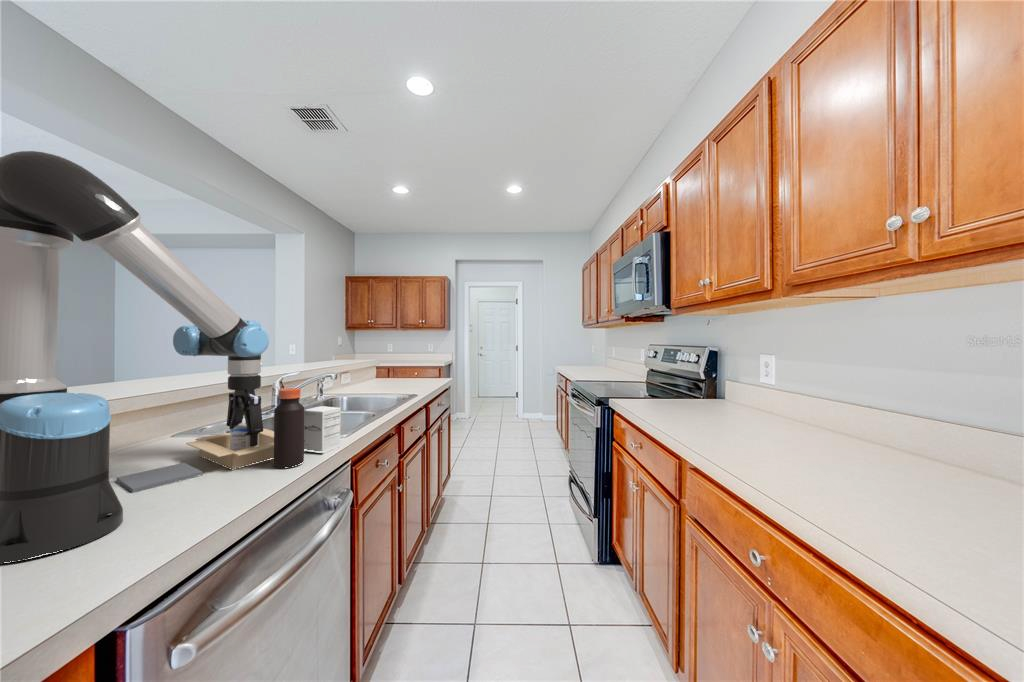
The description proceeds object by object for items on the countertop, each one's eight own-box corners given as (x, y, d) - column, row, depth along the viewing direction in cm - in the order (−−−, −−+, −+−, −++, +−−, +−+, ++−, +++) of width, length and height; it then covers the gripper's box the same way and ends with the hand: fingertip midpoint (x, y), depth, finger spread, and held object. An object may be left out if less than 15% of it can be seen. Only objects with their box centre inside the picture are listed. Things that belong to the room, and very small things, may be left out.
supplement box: (301, 452, 105) (302, 409, 105) (321, 445, 113) (322, 405, 113) (321, 455, 103) (322, 411, 103) (341, 447, 110) (341, 406, 110)
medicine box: (238, 453, 104) (238, 423, 104) (256, 451, 106) (256, 421, 106) (230, 461, 97) (230, 429, 97) (250, 459, 99) (250, 427, 99)
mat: (202, 475, 87) (202, 471, 87) (132, 492, 77) (132, 488, 77) (183, 465, 94) (183, 462, 94) (116, 480, 83) (116, 477, 83)
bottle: (309, 461, 98) (310, 388, 98) (291, 470, 91) (292, 391, 91) (286, 460, 99) (287, 387, 99) (267, 468, 92) (267, 390, 92)
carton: (304, 454, 103) (304, 439, 103) (223, 476, 87) (223, 457, 87) (259, 440, 117) (259, 427, 117) (181, 457, 100) (181, 441, 100)
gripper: (278, 376, 99) (278, 457, 99) (242, 372, 111) (241, 445, 111) (247, 378, 93) (246, 465, 93) (212, 373, 104) (211, 451, 104)
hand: (244, 454), depth 102 cm, fingers closed on medicine box, 9 cm apart
